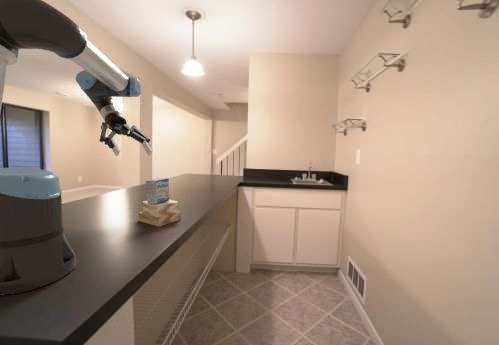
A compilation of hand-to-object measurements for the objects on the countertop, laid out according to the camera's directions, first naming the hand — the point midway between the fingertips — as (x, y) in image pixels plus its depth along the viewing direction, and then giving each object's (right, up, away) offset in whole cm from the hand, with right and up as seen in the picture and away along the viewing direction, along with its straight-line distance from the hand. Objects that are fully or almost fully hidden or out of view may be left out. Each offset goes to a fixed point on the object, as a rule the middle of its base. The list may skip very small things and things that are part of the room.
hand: (135, 153), depth 93 cm
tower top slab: (+11, -23, -3) cm, 26 cm away
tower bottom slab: (+11, -27, -3) cm, 29 cm away
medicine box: (+11, -19, -3) cm, 22 cm away
